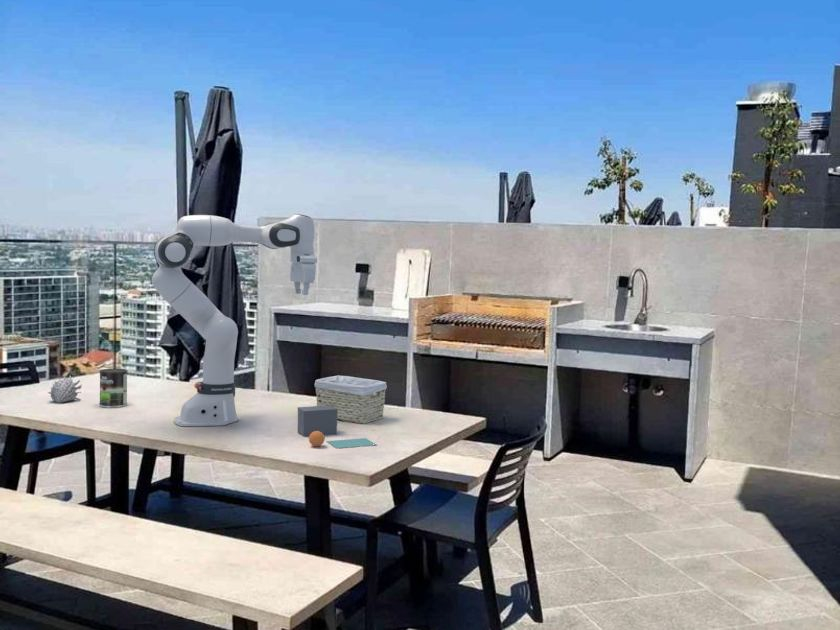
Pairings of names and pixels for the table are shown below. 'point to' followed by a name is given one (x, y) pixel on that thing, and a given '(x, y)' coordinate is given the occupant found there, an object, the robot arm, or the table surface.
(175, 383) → the table surface
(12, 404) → the table surface
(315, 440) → the ball
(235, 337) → the robot arm
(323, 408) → the slate gray brick
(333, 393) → the storage basket
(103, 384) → the coffee can
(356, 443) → the teal flat pad
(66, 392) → the sea urchin
